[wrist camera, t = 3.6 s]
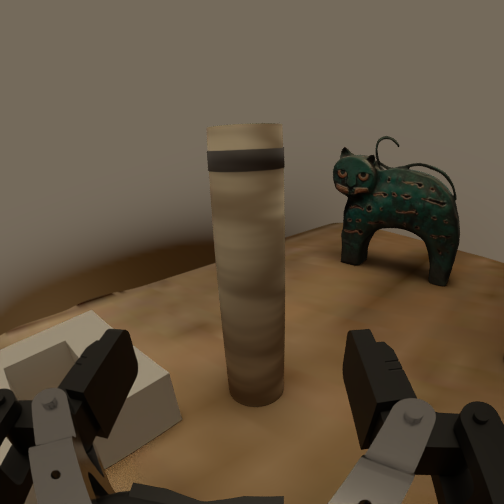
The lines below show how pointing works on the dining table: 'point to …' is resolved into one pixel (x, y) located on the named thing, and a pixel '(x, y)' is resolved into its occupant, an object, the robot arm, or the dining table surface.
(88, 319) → the well block
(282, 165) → the beech dowel
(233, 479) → the dining table surface
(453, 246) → the ceramic cat
